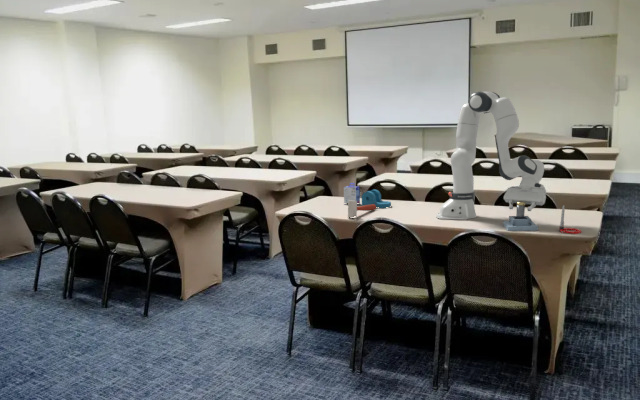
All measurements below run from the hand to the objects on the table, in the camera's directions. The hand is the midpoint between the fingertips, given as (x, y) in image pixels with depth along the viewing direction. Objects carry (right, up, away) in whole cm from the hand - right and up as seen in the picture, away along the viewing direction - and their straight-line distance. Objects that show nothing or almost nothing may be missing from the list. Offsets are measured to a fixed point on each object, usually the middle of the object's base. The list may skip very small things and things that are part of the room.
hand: (519, 209), depth 259 cm
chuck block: (+1, -9, +2) cm, 9 cm away
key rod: (+1, -7, +2) cm, 7 cm away
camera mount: (-63, 0, +79) cm, 101 cm away
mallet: (-75, -4, +56) cm, 93 cm away
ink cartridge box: (-79, +2, +91) cm, 121 cm away
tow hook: (+20, -11, -11) cm, 25 cm away
